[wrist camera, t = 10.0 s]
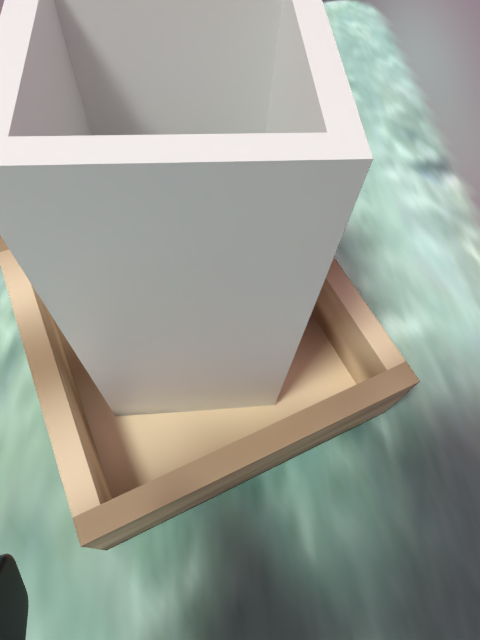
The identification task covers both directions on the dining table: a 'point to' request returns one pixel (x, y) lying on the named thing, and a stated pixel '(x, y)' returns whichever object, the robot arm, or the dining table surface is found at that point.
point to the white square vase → (177, 186)
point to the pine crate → (200, 415)
